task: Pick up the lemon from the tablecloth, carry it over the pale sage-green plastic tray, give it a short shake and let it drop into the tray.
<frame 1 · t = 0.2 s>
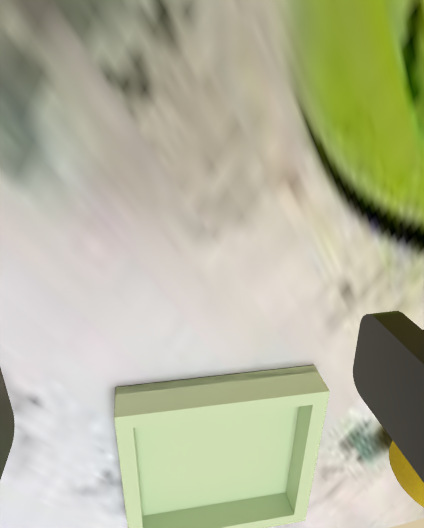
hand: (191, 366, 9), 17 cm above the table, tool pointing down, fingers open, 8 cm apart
tray: (216, 446, 36), on the table
lemon: (398, 429, 39), on the table
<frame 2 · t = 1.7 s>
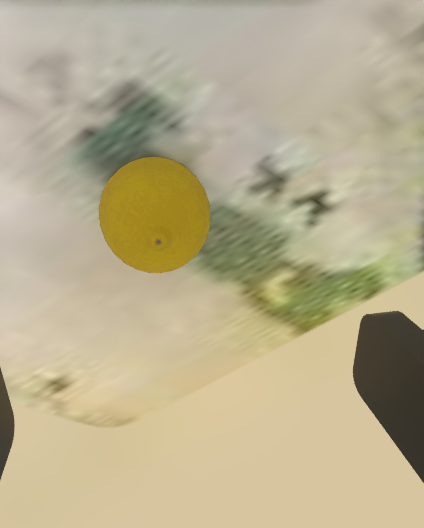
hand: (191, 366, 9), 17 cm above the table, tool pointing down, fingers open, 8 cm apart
lemon: (152, 193, 24), on the table
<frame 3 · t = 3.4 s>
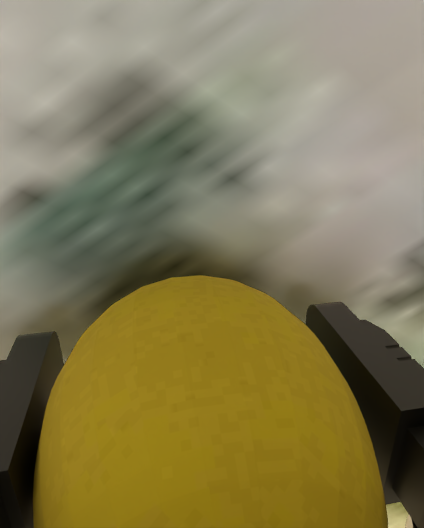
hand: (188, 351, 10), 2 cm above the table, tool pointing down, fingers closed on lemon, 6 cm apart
lemon: (179, 317, 11), on the table, touching gripper
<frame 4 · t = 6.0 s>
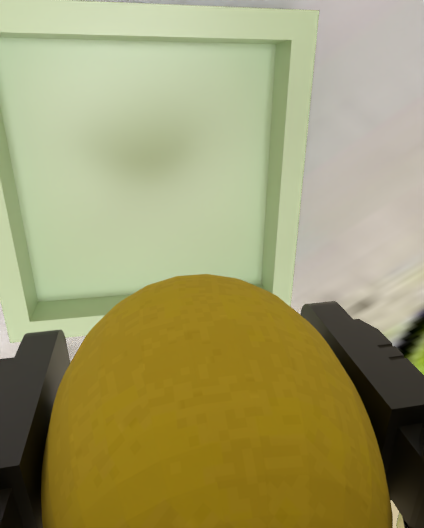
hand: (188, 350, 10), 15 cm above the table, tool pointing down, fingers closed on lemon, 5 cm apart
tray: (147, 179, 23), on the table
lemon: (183, 316, 11), point 13 cm above the table, touching gripper
when the fingers open (5 cm above the table, at t = 8.6 s): lemon drops 3 cm, resting on tray.
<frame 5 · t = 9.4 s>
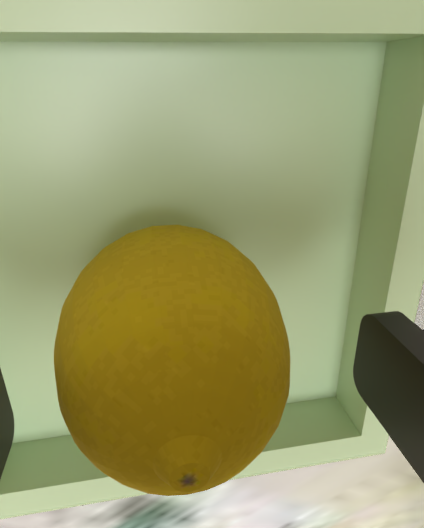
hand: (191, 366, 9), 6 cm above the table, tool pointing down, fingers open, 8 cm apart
tray: (169, 259, 15), on the table
lemon: (164, 269, 14), point 1 cm above the table, touching tray
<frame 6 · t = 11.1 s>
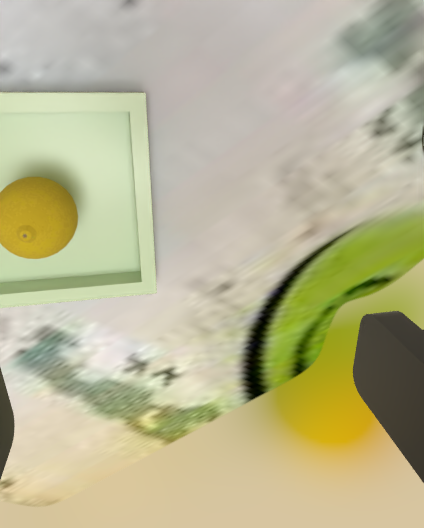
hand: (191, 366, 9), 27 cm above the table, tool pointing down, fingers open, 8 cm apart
tray: (49, 198, 33), on the table
lemon: (45, 202, 32), point 1 cm above the table, touching tray
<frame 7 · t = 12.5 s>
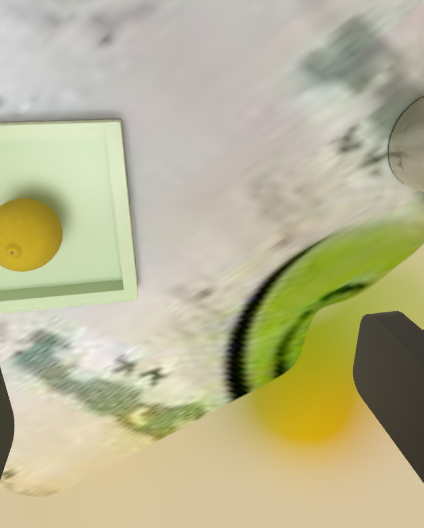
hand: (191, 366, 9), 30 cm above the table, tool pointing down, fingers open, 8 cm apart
tray: (40, 215, 37), on the table
lemon: (36, 218, 36), point 1 cm above the table, touching tray
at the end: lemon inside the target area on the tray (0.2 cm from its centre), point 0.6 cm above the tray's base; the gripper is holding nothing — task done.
